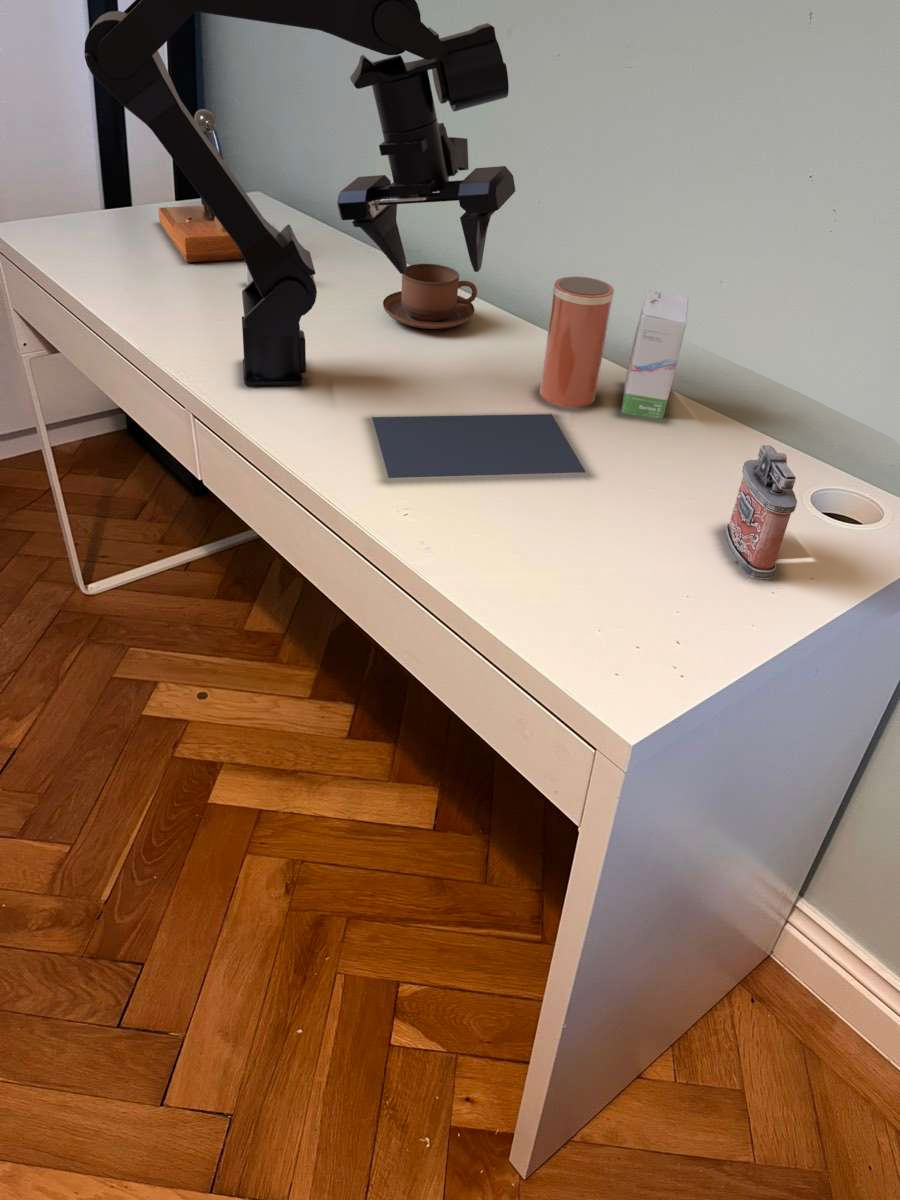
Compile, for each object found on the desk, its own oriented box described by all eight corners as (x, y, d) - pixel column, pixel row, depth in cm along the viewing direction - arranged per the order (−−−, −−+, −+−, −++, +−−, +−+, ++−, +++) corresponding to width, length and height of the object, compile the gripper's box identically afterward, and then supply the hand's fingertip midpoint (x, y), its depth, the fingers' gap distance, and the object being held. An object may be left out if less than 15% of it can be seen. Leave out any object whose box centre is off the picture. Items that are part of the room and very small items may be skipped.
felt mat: (388, 481, 96) (388, 477, 96) (371, 420, 106) (372, 416, 106) (585, 475, 100) (585, 471, 100) (551, 417, 110) (551, 414, 110)
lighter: (717, 529, 93) (743, 433, 87) (751, 530, 94) (780, 434, 88) (744, 579, 87) (775, 479, 81) (781, 579, 87) (814, 480, 81)
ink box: (624, 385, 119) (642, 287, 112) (667, 391, 118) (689, 294, 111) (619, 415, 112) (639, 313, 105) (665, 422, 111) (688, 320, 104)
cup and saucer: (449, 299, 138) (452, 255, 134) (488, 331, 129) (493, 285, 125) (368, 307, 133) (370, 261, 129) (404, 341, 125) (406, 292, 121)
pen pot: (565, 414, 111) (583, 300, 103) (527, 392, 115) (541, 280, 107) (606, 402, 114) (626, 290, 107) (568, 381, 118) (585, 272, 111)
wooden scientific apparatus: (203, 288, 134) (193, 149, 124) (159, 223, 155) (147, 100, 145) (299, 281, 139) (297, 147, 129) (243, 219, 160) (238, 100, 150)
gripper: (521, 89, 102) (542, 239, 112) (365, 107, 110) (397, 244, 120) (481, 125, 95) (507, 281, 105) (317, 141, 103) (355, 285, 112)
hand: (440, 271), depth 110 cm, fingers open, 9 cm apart
